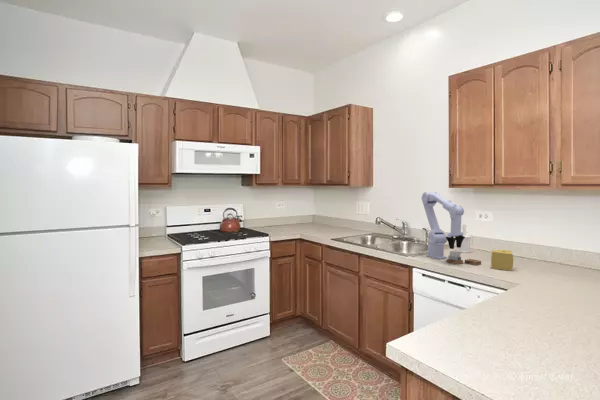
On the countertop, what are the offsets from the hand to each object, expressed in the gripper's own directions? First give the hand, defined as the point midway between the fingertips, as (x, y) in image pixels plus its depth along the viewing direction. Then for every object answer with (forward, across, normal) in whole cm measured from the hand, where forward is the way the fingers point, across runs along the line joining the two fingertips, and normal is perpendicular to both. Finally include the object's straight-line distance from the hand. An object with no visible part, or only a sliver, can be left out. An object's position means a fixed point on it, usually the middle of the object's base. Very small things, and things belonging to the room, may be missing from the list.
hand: (455, 248), depth 202 cm
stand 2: (+9, +8, -7) cm, 14 cm away
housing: (+7, 0, 0) cm, 7 cm away
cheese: (+10, +12, -22) cm, 27 cm away
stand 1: (+9, 0, 0) cm, 9 cm away
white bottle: (+9, +38, +16) cm, 43 cm away
